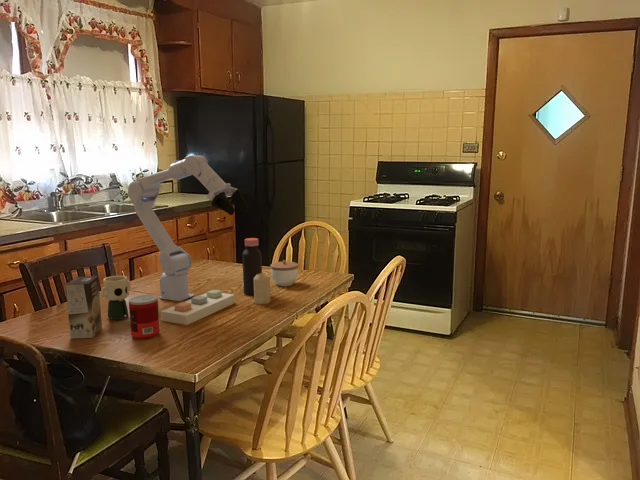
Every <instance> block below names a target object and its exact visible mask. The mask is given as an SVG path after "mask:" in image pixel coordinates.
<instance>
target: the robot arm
mask: <svg viewBox="0 0 640 480" xmlns="http://www.w3.org/2000/svg"><path fill="white" fill-rule="evenodd" d="M190 176H194V177H195V178H196V179H197V180H198V181H199V182H200V183H201V184H202V185H203V186H204V187H205V188H206V190H207V191H208V194H207V195H206V198H207V199H209V201H212V202H211V203H210V204H211V206H212V207H214V208H215V207H216V208H218V209H220V210H221V211H224V212H225V213H226V214H228V215H230V216H233V215H234V214H235V213H236V209H235V207H234V206H236V207H237V208H238V209H239V210H240V211H242V212H243V213H247V212H248V210H249V209H250V207H249V205H248V203H247V202H246V200H245V198H244V194H243V190H242V189H241V188H237V187H233V186H231V185H232V184H231V183H229V182H228V183H227V182H225V181H224V180H223V179H222V178H221V176H219V174H217V172H216V171H214V170H213V168H212V167H211V166H210V165H209V161H208V159H207V158H206V157H205V156H204V155H201V154H200V155H188V156H185V157H184V159H181V160H179V159H175V160H173V162H172V163H171V164H170V165H169V167H168V169H164V170H161V171H158V172H155V173H151V174H149V175H146V176H143V177H140V178H138V179H136V181H132V182H130V183H129V184H128V187H127V193H126V194H127V197H128V198H129V200H130V202H132V205H133V208H134V211H135V213H136V215H137V217H138V218H139V220H140V221H141V222H142V225H143V226H144V228H145V230H146V231H147V233H148V235H149V236H150V238H152V239H151V240H152V241H153V242H154V244H155V246H156V247H157V248H158V250H159V252H160V254H159V257H158V258H157V259H158V262H159V263H160V265H161V270H162V271H163V273H162V274H161V275H160V278H159V285H160V286H159V287H160V288H159V289H160V296H159V299H163V300H170V301H175V302H183V301H186V300H187V299H189V298H193V297H195V294H193V293H190V292H189V290H190V289H189V275H188V272H189V271H190V268H191V266H192V263H193V262H192V257H191V256H190V254H189V253H187V252H186V251H185V250H184V249H183V248H182V247H181V246H179V245H176V244H175V243H174V240H173V239H172V237H171V236H170V235H169V233H168V232H167V230H166V229H165V227H164V225H163V223H162V222H161V220H160V218H159V217H158V216H157V214H156V212H155V210H153V206H155V204H156V201H157V199H158V196H159V194H160V191H161V190H160V189H161V188H162V185H161V184H162V183H163V182H166V181H168V180H171V179H173V180H176V181H179V180H181V179H184V178H187V177H190ZM228 197H230V198H231V199H230V200H229V199H228ZM233 205H234V206H233Z"/></svg>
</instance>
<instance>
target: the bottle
mask: <svg viewBox="0 0 640 480" xmlns="http://www.w3.org/2000/svg"><path fill="white" fill-rule="evenodd" d="M244 247H245V249H244V250H243V252H242V278H243V283H242V284H243V285H242V286H243V294H244V295H245V296H250V297H251V296H253V297H254V277H255V276H256V275H257V274H260V273H263V269H262V268H263V267H262V265H263V264H262V262H263V261H262V251H260V249H259V248H258V247H259V238H256V237H250V238H249V237H248V238H245V239H244Z"/></svg>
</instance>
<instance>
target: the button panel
mask: <svg viewBox="0 0 640 480" xmlns="http://www.w3.org/2000/svg"><path fill="white" fill-rule="evenodd" d="M199 296H205V297H207V292H206V293H203V294H201V295H199ZM184 302H186V303H191V299H188V300H184ZM235 303H236V302H235V294H233V293H224V292H222V296H221V297H219V298H216V299H214V298H207V303H205V304H202V305H196V304H191V310H188V311H186V312H179V311H175V306H174V305H172V306H170V307H168V308H165V309H163V310H161V311H160V318H161V320H160V321H162V322H168V323H172V324H178V325H184V326H188V325H190V324H193V323H195V322H196V321H199V320H201V319H203V318H205V317H208V316H210V315H212V314H214V313H216V312H219V311H221V310H223V309H225V308H227V307H230V306H232V305H233V304H235Z"/></svg>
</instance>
